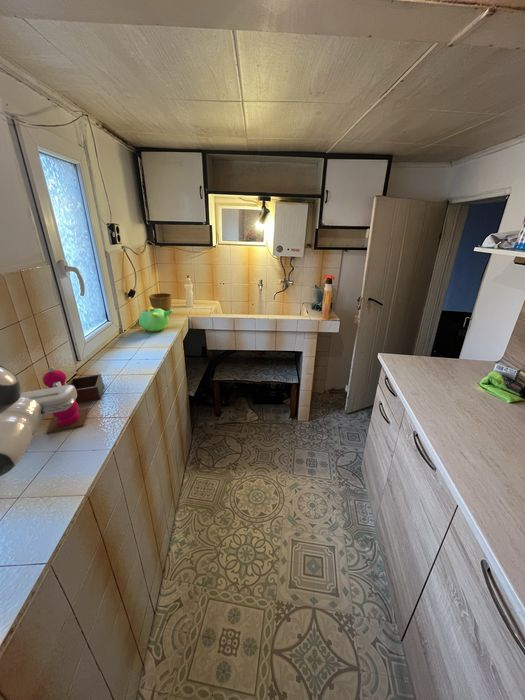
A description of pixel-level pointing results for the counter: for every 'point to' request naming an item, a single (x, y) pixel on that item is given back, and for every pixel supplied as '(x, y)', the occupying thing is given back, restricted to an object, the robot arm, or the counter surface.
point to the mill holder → (88, 387)
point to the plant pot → (161, 301)
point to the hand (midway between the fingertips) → (37, 387)
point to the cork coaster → (57, 427)
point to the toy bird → (154, 319)
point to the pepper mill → (59, 376)
